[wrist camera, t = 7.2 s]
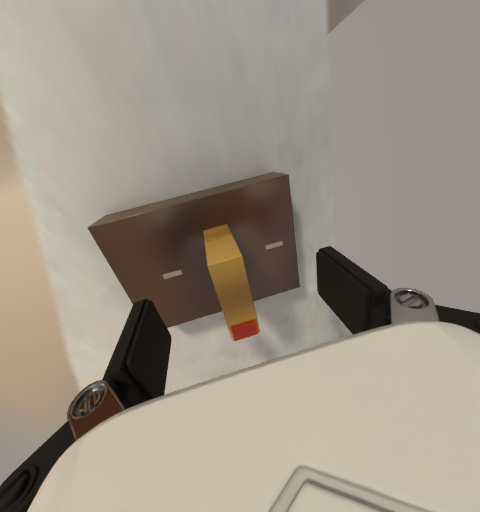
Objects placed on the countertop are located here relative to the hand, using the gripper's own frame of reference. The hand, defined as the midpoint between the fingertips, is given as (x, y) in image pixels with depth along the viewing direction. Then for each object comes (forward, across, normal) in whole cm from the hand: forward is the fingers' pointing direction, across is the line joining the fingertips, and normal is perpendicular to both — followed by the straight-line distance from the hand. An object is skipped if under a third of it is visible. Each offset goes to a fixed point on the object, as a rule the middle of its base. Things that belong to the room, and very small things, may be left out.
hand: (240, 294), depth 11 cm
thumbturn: (+5, 0, 0) cm, 5 cm away
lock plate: (+8, +2, 0) cm, 9 cm away
